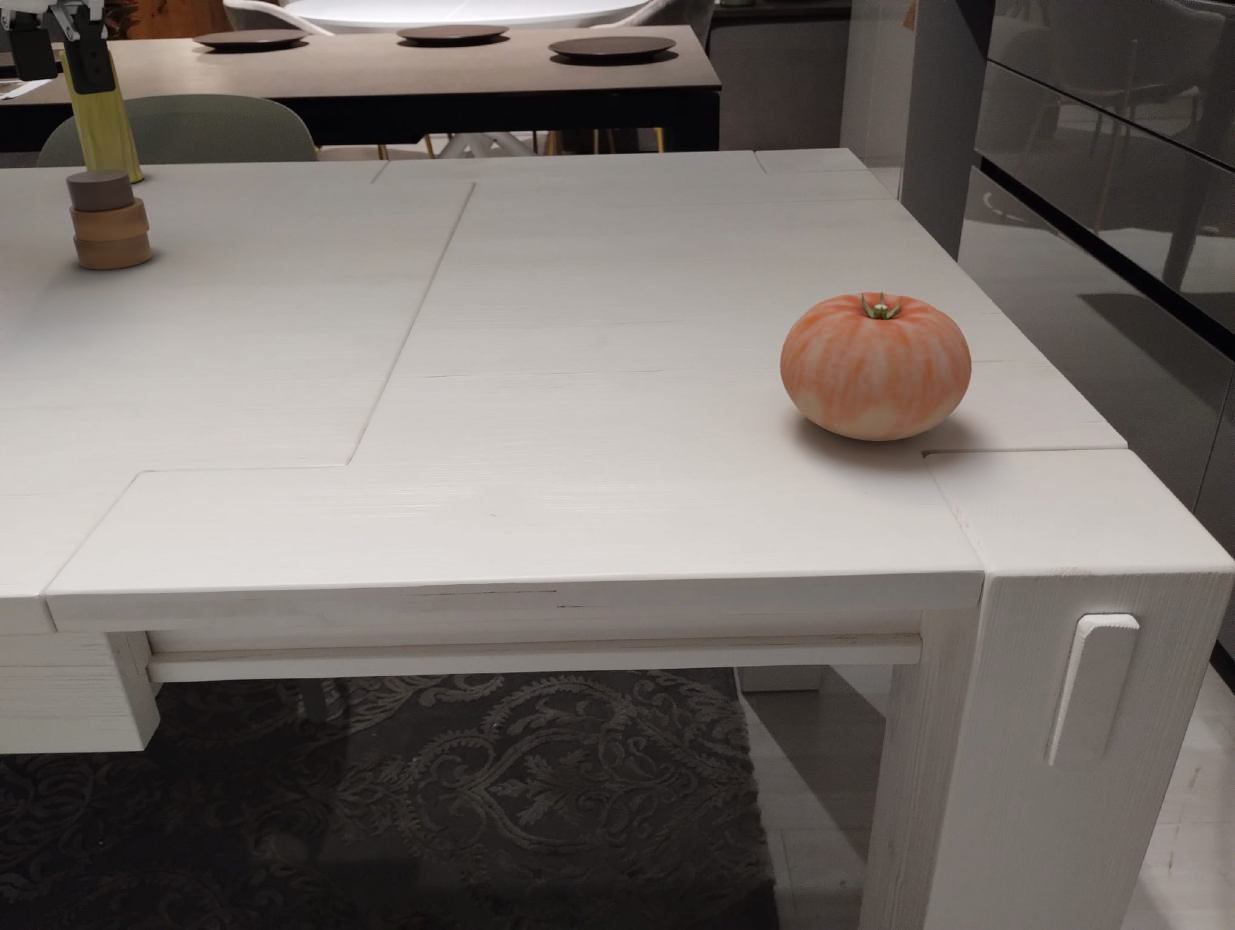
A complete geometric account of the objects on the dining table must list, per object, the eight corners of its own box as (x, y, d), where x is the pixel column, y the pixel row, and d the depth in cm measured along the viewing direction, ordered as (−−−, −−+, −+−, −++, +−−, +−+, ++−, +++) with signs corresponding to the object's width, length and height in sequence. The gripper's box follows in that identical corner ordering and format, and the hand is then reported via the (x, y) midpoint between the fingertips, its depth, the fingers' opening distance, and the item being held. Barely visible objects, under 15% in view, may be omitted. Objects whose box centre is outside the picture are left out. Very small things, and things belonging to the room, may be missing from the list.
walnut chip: (62, 206, 89) (54, 177, 88) (117, 194, 92) (110, 166, 91) (90, 214, 86) (83, 185, 85) (146, 202, 90) (139, 174, 88)
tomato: (749, 398, 64) (756, 276, 60) (904, 379, 66) (920, 261, 63) (821, 479, 55) (834, 342, 51) (998, 454, 57) (1024, 320, 53)
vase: (88, 189, 116) (53, 55, 109) (88, 178, 120) (55, 49, 114) (145, 183, 118) (114, 51, 111) (143, 172, 123) (114, 46, 116)
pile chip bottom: (67, 261, 91) (60, 234, 90) (131, 246, 95) (124, 219, 94) (101, 274, 88) (93, 246, 87) (165, 257, 92) (158, 230, 91)
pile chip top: (64, 234, 90) (56, 206, 89) (128, 219, 94) (121, 192, 93) (97, 246, 87) (90, 217, 86) (162, 230, 91) (156, 202, 90)
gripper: (-91, -154, 79) (-26, 79, 87) (11, -158, 69) (72, 104, 78) (10, -149, 84) (61, 71, 92) (117, -153, 74) (164, 92, 83)
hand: (66, 85), depth 85 cm, fingers open, 9 cm apart
